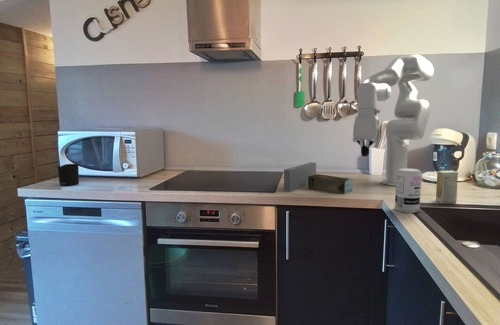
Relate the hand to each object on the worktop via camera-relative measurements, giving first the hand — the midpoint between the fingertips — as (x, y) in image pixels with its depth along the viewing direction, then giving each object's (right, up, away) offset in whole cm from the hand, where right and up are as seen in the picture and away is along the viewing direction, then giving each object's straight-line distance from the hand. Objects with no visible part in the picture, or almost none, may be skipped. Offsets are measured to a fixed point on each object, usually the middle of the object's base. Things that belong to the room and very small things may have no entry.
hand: (364, 155), depth 154 cm
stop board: (-25, -14, +20) cm, 35 cm away
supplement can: (+8, -20, -23) cm, 32 cm away
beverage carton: (-12, -16, +12) cm, 23 cm away
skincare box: (+29, -19, -11) cm, 36 cm away
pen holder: (-141, -14, +29) cm, 144 cm away
